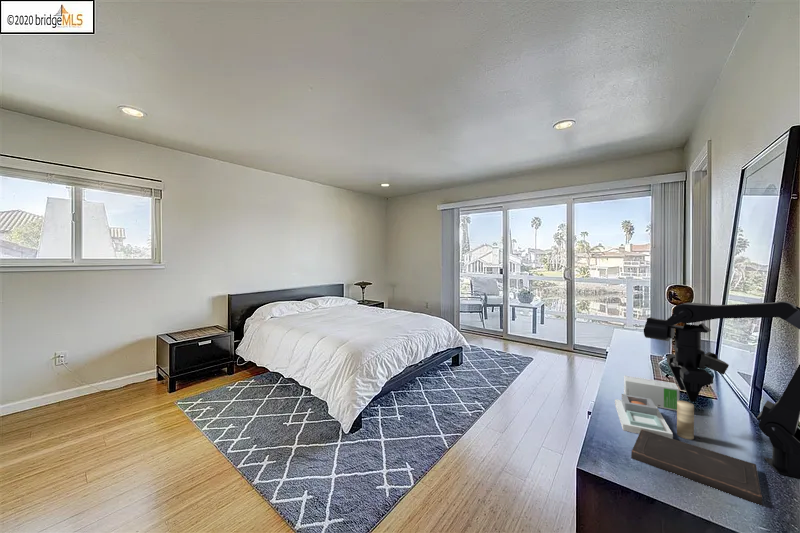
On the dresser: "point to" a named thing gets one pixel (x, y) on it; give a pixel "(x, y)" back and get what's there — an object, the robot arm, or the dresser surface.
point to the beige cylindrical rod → (685, 420)
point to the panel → (641, 416)
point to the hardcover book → (699, 465)
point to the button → (637, 402)
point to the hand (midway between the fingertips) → (687, 395)
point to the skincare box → (653, 391)
